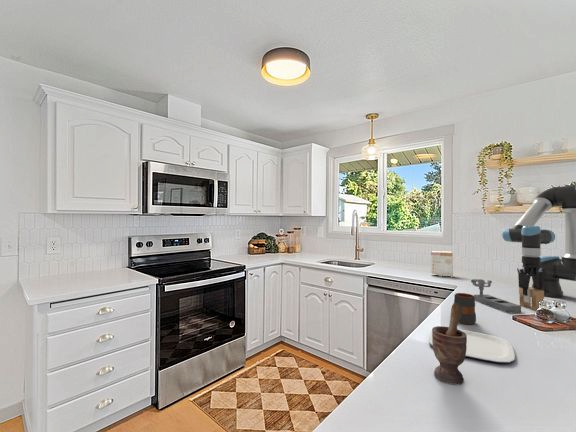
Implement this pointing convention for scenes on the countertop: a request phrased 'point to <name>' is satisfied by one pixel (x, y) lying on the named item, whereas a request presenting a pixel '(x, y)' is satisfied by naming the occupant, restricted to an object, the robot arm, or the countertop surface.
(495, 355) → the plate
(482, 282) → the mechanical component
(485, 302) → the rail
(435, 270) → the coffeecake box
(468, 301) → the mug
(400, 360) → the countertop surface
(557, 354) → the countertop surface
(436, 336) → the mortar and pestle
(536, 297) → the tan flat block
